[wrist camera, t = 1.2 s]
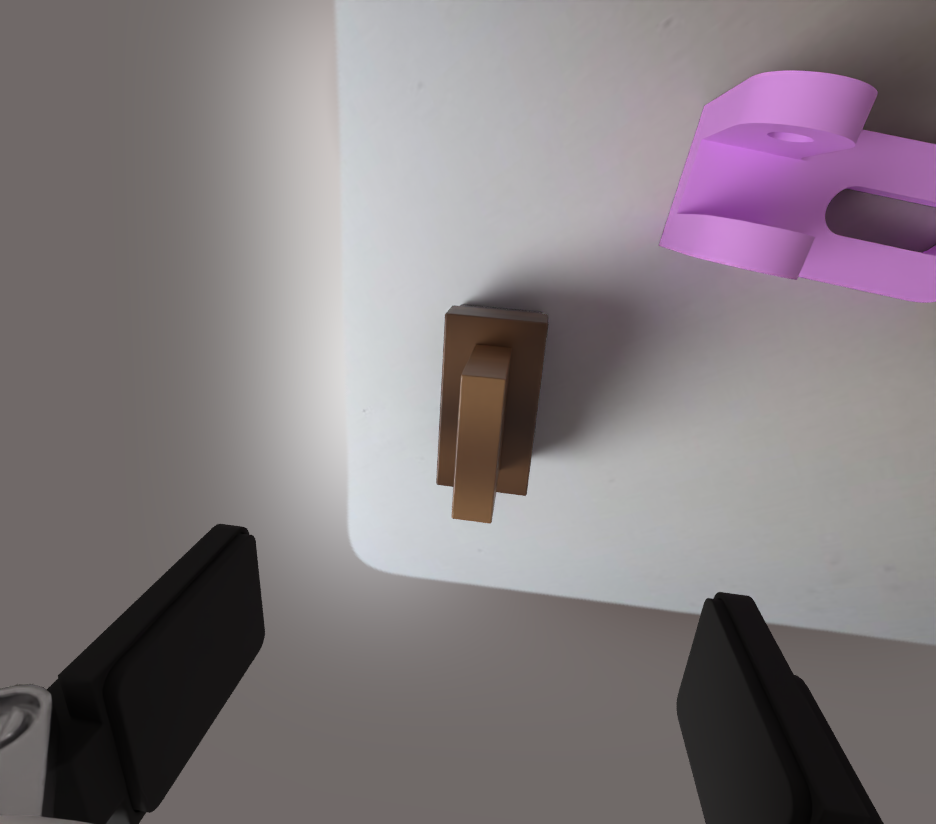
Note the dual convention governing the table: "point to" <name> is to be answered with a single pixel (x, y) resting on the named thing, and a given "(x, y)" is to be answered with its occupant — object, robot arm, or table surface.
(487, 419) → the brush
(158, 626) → the robot arm
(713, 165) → the bracket
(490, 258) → the table surface
